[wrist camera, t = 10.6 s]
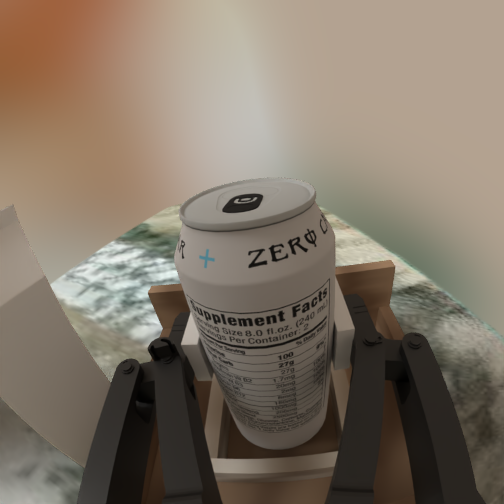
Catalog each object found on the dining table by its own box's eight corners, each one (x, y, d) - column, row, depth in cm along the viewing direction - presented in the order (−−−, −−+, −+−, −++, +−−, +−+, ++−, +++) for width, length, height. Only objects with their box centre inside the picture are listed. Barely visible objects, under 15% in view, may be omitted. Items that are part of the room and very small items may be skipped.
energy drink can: (326, 382, 19) (327, 170, 12) (323, 456, 13) (342, 225, 6) (247, 380, 20) (198, 182, 13) (228, 449, 15) (128, 239, 8)
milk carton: (146, 425, 19) (17, 205, 10) (90, 472, 14) (-82, 273, 5) (106, 384, 23) (9, 202, 14) (58, 422, 18) (-62, 248, 9)
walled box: (136, 520, 11) (63, 489, 7) (178, 350, 27) (151, 286, 23) (436, 502, 9) (500, 464, 5) (379, 330, 25) (390, 259, 21)
